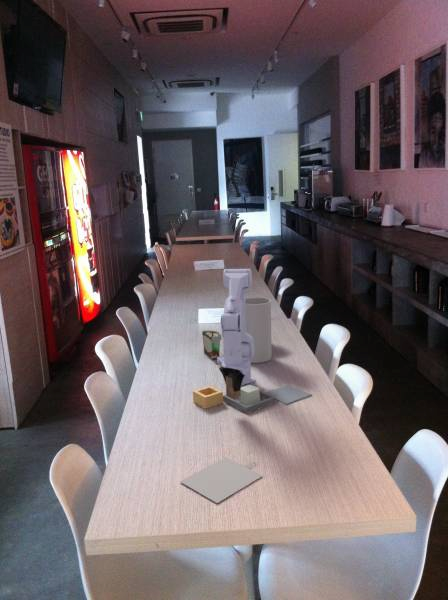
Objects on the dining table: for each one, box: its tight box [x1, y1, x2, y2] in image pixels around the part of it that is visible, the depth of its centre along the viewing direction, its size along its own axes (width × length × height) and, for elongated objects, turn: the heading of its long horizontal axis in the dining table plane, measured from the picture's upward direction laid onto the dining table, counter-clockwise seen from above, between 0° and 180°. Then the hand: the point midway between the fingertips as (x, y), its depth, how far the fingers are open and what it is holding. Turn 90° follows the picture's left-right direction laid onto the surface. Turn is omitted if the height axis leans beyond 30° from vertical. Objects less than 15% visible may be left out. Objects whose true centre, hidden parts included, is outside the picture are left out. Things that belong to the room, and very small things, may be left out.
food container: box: [201, 330, 223, 361], centre depth 240 cm, size 12×6×10 cm, turn 22°
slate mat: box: [265, 384, 312, 405], centre depth 198 cm, size 12×12×1 cm
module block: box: [238, 384, 261, 406], centre depth 193 cm, size 5×5×5 cm
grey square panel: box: [179, 457, 264, 504], centre depth 152 cm, size 23×25×1 cm
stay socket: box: [192, 385, 224, 409], centre depth 193 cm, size 7×7×4 cm
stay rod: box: [225, 375, 241, 400], centre depth 183 cm, size 3×3×7 cm
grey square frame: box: [223, 389, 277, 414], centre depth 193 cm, size 13×13×2 cm
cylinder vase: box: [245, 296, 273, 364], centre depth 232 cm, size 12×12×25 cm
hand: (233, 388), depth 184 cm, fingers closed on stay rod, 3 cm apart
